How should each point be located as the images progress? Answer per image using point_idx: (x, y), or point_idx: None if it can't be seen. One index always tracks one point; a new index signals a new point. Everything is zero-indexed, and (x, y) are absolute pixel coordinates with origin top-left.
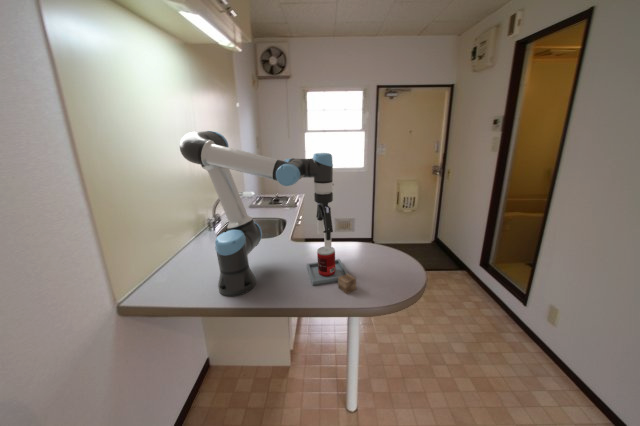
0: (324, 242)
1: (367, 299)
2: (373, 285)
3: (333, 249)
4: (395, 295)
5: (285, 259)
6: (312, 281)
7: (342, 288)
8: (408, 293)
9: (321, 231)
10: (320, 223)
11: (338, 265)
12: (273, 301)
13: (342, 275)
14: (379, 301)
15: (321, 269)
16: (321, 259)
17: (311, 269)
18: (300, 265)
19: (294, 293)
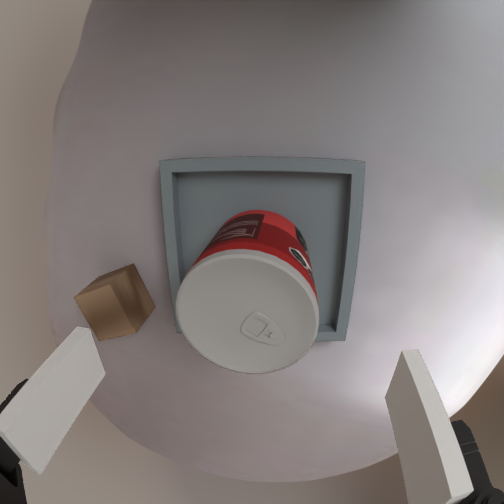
0: (69, 352)
1: (74, 322)
2: (139, 370)
3: (240, 366)
4: None
5: (471, 83)
6: (163, 160)
7: (108, 275)
8: (104, 410)
9: (400, 404)
10: (426, 483)
11: None
12: (112, 8)
13: None
14: None
15: (222, 228)
16: (201, 253)
17: (318, 179)
18: (394, 134)
19: (134, 76)
